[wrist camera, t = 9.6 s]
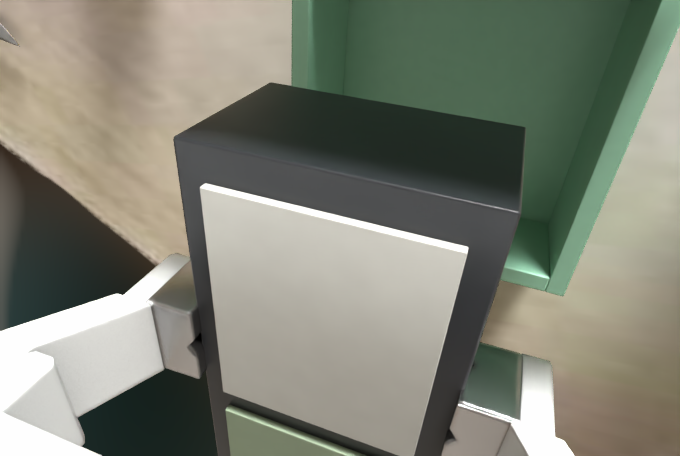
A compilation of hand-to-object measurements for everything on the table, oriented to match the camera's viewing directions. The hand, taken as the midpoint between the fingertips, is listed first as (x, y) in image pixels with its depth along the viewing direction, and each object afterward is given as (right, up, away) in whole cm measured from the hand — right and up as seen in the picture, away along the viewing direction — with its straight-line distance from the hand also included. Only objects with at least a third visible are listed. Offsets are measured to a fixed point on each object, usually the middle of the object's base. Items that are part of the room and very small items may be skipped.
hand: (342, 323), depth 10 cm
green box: (+6, +9, +14) cm, 18 cm away
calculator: (+1, +1, +1) cm, 2 cm away
